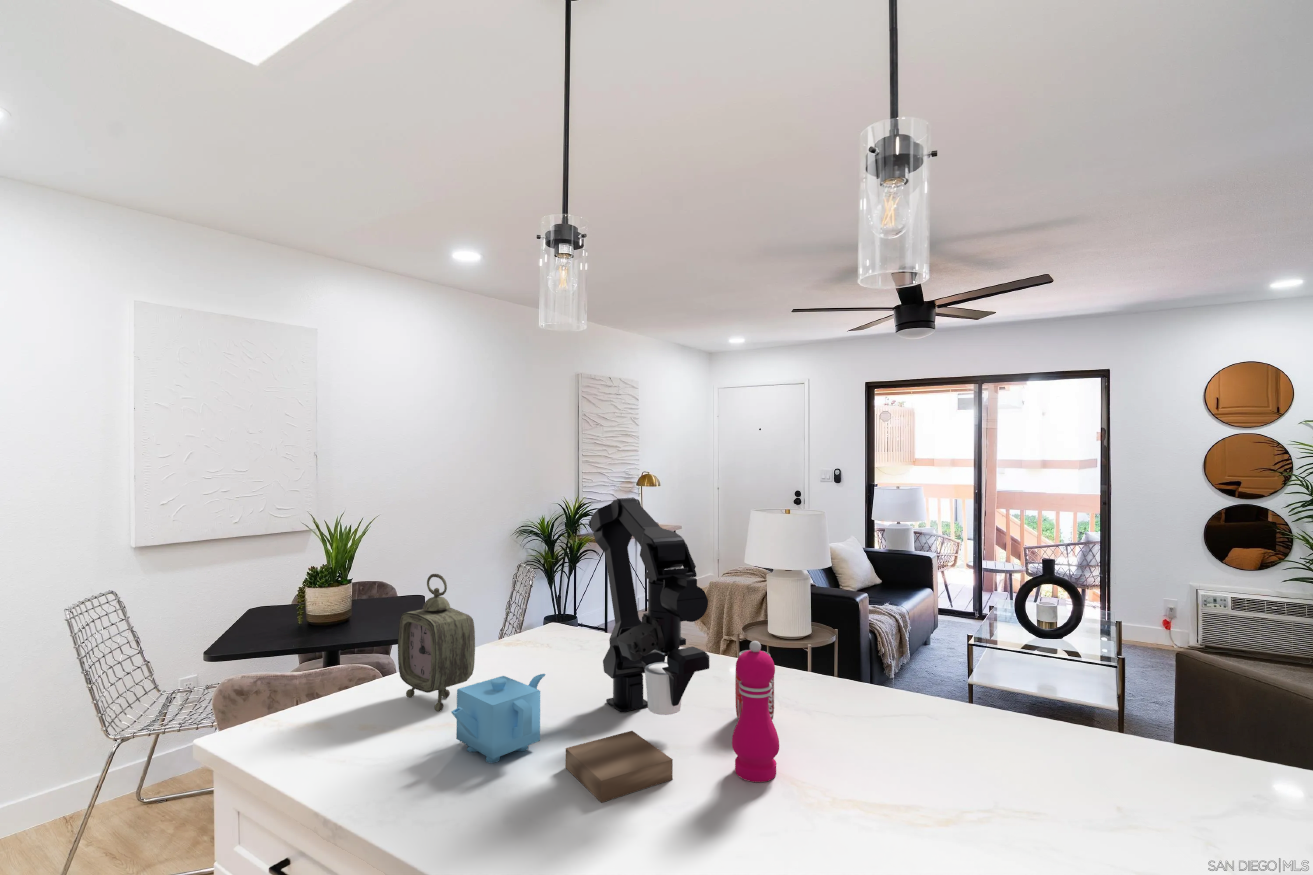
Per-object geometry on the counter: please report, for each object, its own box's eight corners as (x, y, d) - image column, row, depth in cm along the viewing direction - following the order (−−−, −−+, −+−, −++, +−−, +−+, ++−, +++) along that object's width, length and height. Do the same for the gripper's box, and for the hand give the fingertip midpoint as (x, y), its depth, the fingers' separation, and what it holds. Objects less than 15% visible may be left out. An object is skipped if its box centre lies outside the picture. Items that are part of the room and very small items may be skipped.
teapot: (427, 750, 106) (428, 681, 106) (519, 718, 119) (520, 656, 119) (480, 784, 95) (481, 706, 95) (574, 744, 108) (575, 676, 108)
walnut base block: (565, 767, 100) (565, 747, 100) (632, 748, 106) (632, 730, 106) (601, 802, 90) (601, 780, 90) (672, 779, 96) (672, 759, 96)
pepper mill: (782, 765, 101) (782, 636, 101) (775, 787, 94) (775, 649, 95) (737, 758, 103) (737, 632, 104) (727, 779, 96) (727, 645, 97)
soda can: (772, 713, 121) (772, 649, 122) (775, 728, 114) (775, 660, 115) (735, 711, 122) (734, 648, 122) (735, 727, 115) (735, 659, 115)
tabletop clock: (397, 697, 129) (398, 572, 130) (438, 685, 136) (439, 566, 136) (435, 717, 119) (437, 581, 120) (477, 702, 126) (479, 575, 127)
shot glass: (643, 701, 114) (643, 661, 114) (681, 700, 115) (681, 660, 115) (645, 716, 107) (646, 674, 108) (686, 715, 108) (686, 673, 108)
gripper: (598, 603, 115) (598, 691, 115) (654, 626, 99) (654, 729, 99) (651, 596, 121) (650, 680, 121) (711, 617, 105) (711, 713, 105)
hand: (664, 699), depth 111 cm, fingers closed on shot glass, 6 cm apart
